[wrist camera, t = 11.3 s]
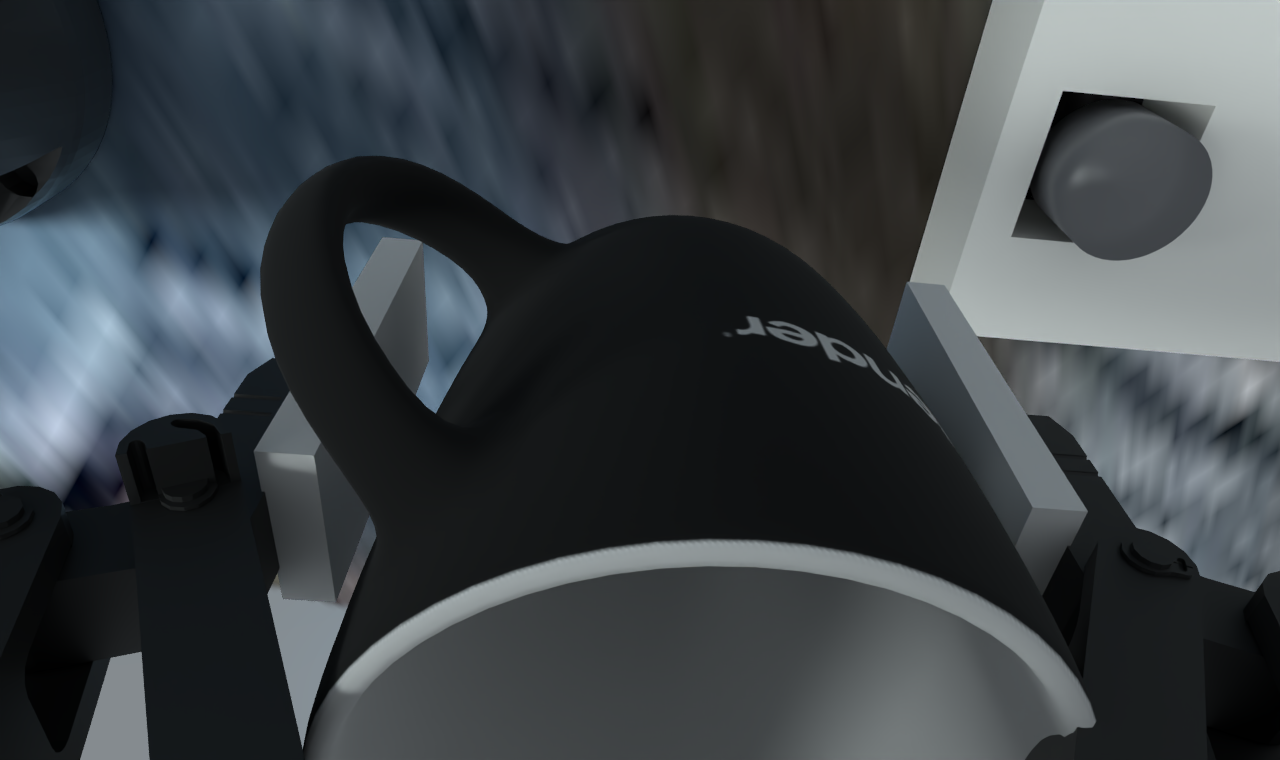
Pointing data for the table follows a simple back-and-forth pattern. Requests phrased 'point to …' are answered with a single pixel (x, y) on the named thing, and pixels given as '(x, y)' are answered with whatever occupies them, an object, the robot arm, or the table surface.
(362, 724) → the mug
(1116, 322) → the white rectangular box
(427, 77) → the table surface
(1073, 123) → the dark grey rounded piece
